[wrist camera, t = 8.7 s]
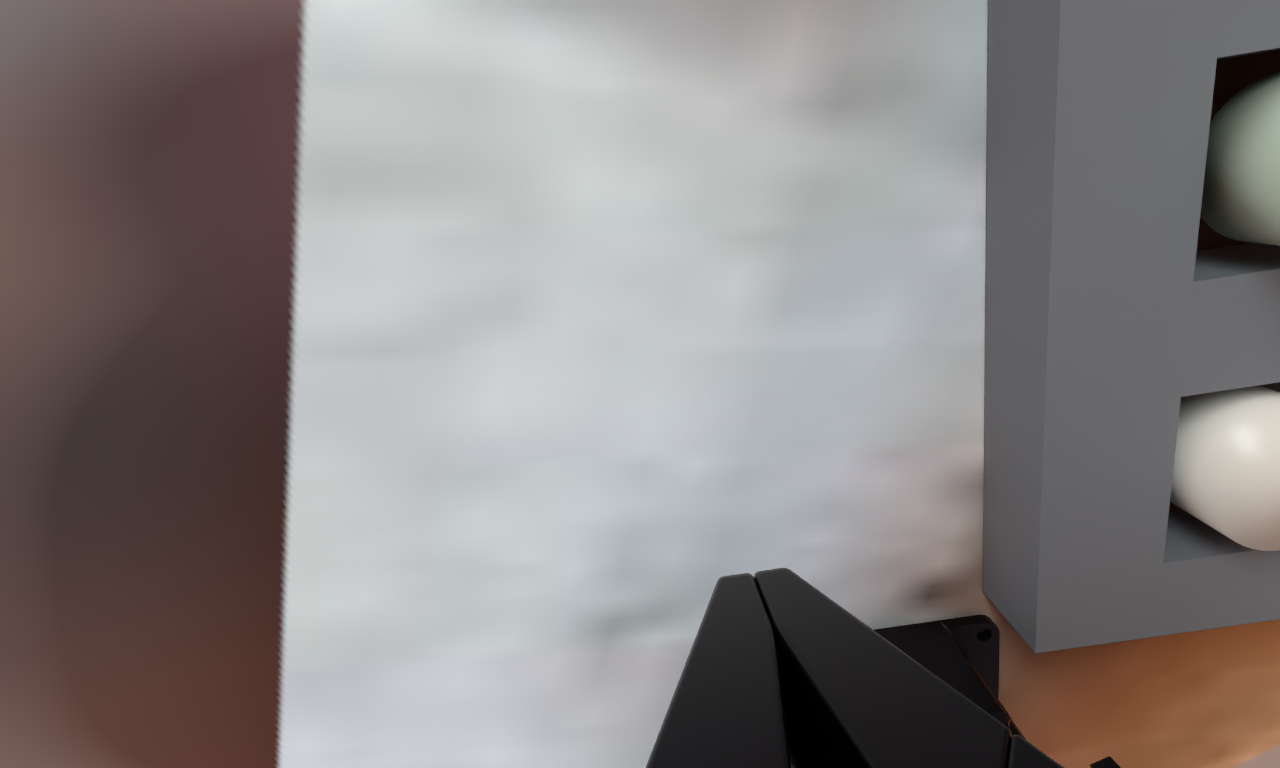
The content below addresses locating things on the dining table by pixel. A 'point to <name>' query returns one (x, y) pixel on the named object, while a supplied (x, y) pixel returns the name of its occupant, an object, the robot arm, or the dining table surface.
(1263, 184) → the sage button
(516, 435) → the dining table surface
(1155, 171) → the button panel
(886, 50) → the dining table surface
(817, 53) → the dining table surface
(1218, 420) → the cream button
